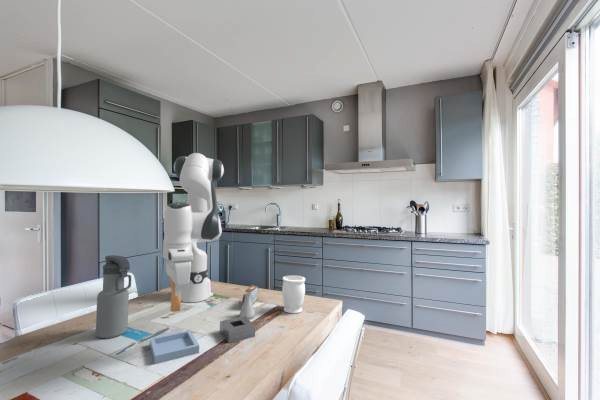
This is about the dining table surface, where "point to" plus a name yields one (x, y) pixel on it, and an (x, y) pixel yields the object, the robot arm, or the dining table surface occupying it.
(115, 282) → the water bottle
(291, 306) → the jar
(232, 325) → the metal block with hole
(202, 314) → the dining table surface
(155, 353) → the tray
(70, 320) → the dining table surface
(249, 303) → the flask
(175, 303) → the wooden peg
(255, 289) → the tin
